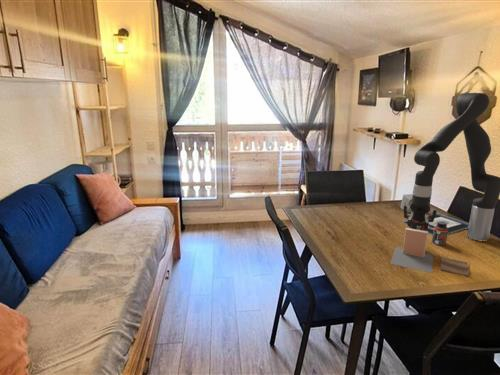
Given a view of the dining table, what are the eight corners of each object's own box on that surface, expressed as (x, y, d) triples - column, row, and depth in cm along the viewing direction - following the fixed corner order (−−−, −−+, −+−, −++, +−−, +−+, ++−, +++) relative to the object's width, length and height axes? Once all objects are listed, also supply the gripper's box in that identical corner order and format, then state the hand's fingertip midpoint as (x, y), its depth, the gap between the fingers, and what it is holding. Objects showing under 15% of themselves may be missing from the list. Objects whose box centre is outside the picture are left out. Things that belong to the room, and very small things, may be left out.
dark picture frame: (402, 224, 189) (402, 220, 188) (437, 215, 201) (438, 212, 200) (437, 238, 170) (437, 234, 169) (473, 227, 182) (474, 224, 182)
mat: (395, 248, 158) (395, 247, 158) (433, 255, 151) (433, 254, 150) (390, 264, 143) (390, 263, 143) (431, 273, 136) (432, 272, 135)
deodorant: (418, 235, 159) (422, 206, 155) (425, 240, 154) (429, 210, 149) (406, 235, 159) (410, 206, 155) (412, 240, 153) (417, 210, 149)
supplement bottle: (438, 247, 159) (442, 225, 156) (429, 242, 164) (432, 221, 161) (448, 245, 160) (452, 224, 157) (438, 240, 166) (442, 219, 163)
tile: (402, 251, 154) (405, 227, 150) (424, 255, 149) (428, 231, 146) (402, 253, 152) (405, 229, 149) (424, 257, 148) (427, 232, 145)
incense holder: (407, 214, 203) (409, 197, 200) (399, 209, 210) (401, 193, 208) (422, 212, 204) (424, 196, 201) (413, 208, 212) (415, 192, 209)
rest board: (440, 259, 147) (440, 257, 147) (467, 264, 143) (467, 262, 142) (440, 271, 137) (440, 269, 137) (468, 277, 133) (469, 275, 132)
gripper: (440, 194, 150) (434, 228, 155) (405, 189, 157) (401, 222, 162) (439, 198, 144) (434, 234, 148) (403, 194, 151) (399, 228, 155)
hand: (417, 228), depth 155 cm, fingers closed on deodorant, 6 cm apart
